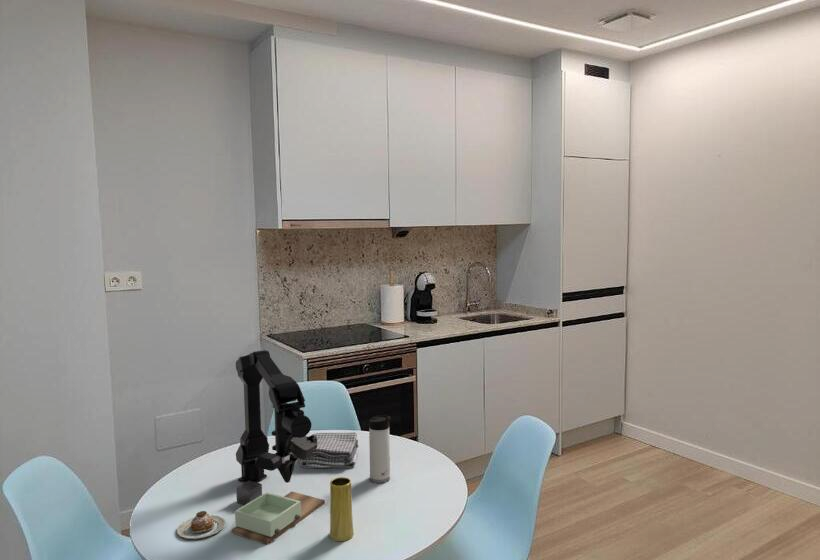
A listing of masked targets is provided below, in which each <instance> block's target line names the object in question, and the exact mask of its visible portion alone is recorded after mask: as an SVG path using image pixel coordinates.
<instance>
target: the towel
mask: <svg viewBox="0 0 820 560" xmlns="http://www.w3.org/2000/svg"><path fill="white" fill-rule="evenodd" d="M313 434H314V435H315V436H317V446H318V447H317V448H316V449H314V451H313V455H312V456H310V457H308V458H306V459H305V460H301V461H300V464H299V467H301V468H304V469H330V468H331V469H335V468H338V469H339V468H341V469H342V468H343V469H344V468H346V469H347V468H348V469H353V468H355V466H356V463H357V459H358V455H359V444H358V443H359V439H357V436H358V435H357V432H314V433H313Z"/></svg>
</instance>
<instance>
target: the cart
mask: <svg viewBox="0 0 820 560" xmlns="http://www.w3.org/2000/svg"><path fill="white" fill-rule="evenodd" d="M300 516H301V501H297V500H294V499H290V498H286V497H284V496H282V495H278V494H274V493H270V492H264V493H262V495H261V496H259V497H258V498H256V499H254V500H253V501H251V502H249V503H248V504H246V505H244V506H243V505H242V506H241V507H239V508H237V509H236V510H235V511H234V524H235V527H236V526H237V527H241V528H244V529H247V530H250V531H253V532H257V533H260V534H263V535H266V536H269V537H272V536H273V535H275V534H279V533H280V530H282V529H283V528H284V527H286V526H287V525H289V524H290V523H292V522H293V521H294V520H296V519H297V520H299V519H300Z"/></svg>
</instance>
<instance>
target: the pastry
mask: <svg viewBox="0 0 820 560" xmlns="http://www.w3.org/2000/svg"><path fill="white" fill-rule="evenodd" d="M214 522H215V523H214ZM216 523H217V524H216ZM215 526H216V528H215ZM225 526H226V521H225V519H224V518H223V517H221V516H219V515H215V514H209V513H207V511H206V510H201V511H198V512H196V514H195V516H194V517H191V518H189V519H187V520H185V521H183V522H182V523H181V524H180V525H178V526H177V529H176V533H177V535H178V536H179V537H181V538H184V539H186V540H194V541H196V540H198V539H204V538H208V537H210V536H213V535H216V534H217V533H219V532H220V531H221V530H222V529H224V527H225ZM214 528H215V529H214ZM187 529H189V531H190V532H191V533H194V534H202V533H207V532H208V531H211V530H212V529H214V531H211V532H209V533H207V534H203V535H199V536H198V535H197V536H195V535H194V536H193V535H188V534H187V533H186V530H187Z"/></svg>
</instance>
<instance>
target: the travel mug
mask: <svg viewBox="0 0 820 560" xmlns="http://www.w3.org/2000/svg"><path fill="white" fill-rule="evenodd" d="M390 420H391V416H390V415H383V414H382V415H376V416H373V417H371V418H370V419H369V421H368V422H369V425H368V427H369V428H368V429H369V431H368V432H369V433H368V434H369V435H368V436H369V437H368V439H369V441H368V442H369V444H368V445H369V480H370V482H373V483H375V482H376V484H383V482H384V483H386V482H388V481H390V479H391V461H390V460H391V456H390V455H391V452H390V451H391V450H390V447H391V445H390Z"/></svg>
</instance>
